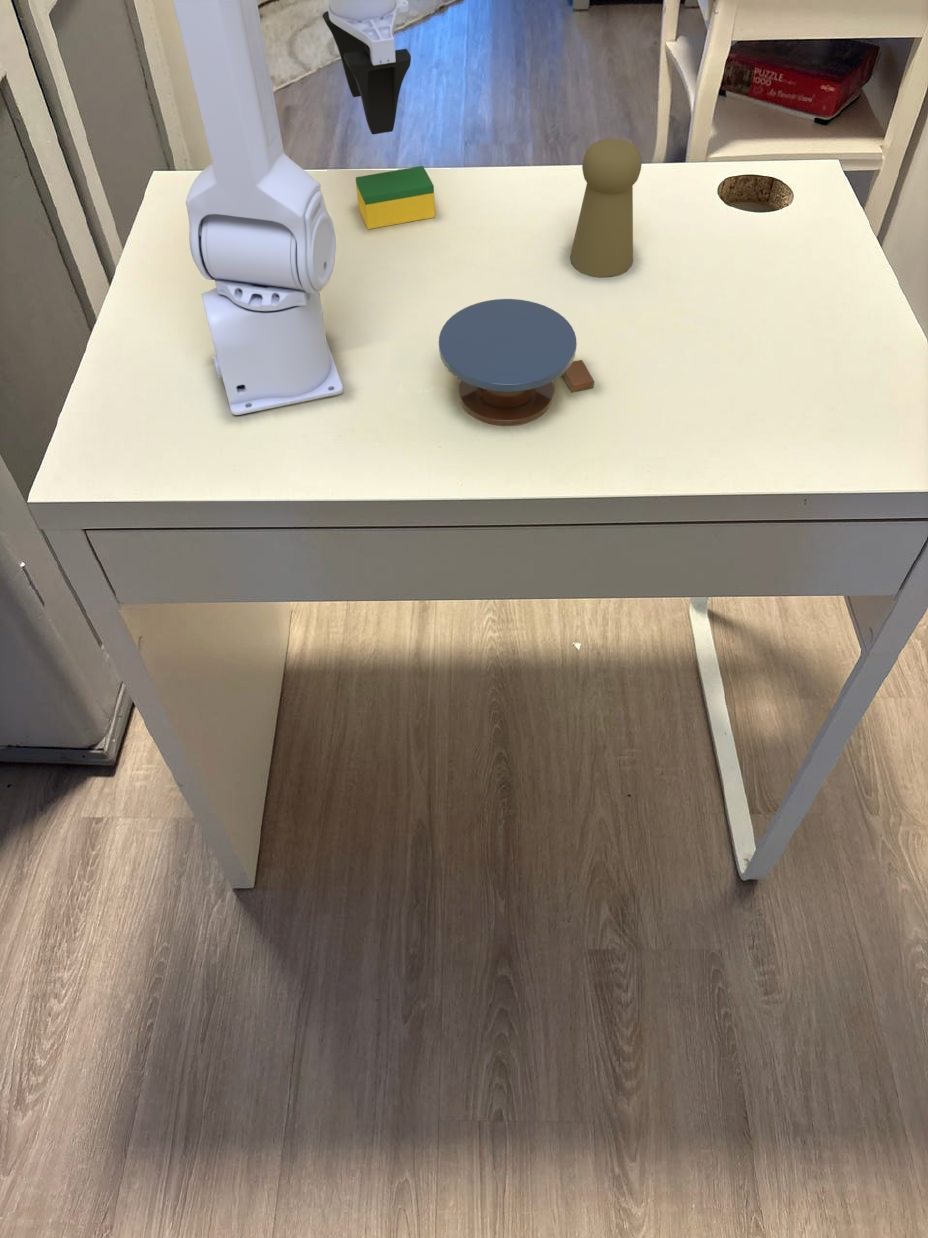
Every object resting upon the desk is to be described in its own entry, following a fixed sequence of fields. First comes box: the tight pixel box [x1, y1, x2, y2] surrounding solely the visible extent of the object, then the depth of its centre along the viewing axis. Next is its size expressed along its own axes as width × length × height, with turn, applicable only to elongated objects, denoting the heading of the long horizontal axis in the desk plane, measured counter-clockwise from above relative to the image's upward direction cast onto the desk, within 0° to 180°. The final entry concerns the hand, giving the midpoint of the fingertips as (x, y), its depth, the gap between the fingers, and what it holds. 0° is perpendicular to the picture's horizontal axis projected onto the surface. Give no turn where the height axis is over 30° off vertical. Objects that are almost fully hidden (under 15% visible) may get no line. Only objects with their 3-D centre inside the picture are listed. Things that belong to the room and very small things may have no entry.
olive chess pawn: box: [569, 137, 643, 278], centre depth 90 cm, size 6×6×11 cm
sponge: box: [355, 165, 436, 230], centre depth 99 cm, size 7×4×3 cm, turn 107°
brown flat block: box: [561, 359, 595, 393], centre depth 84 cm, size 2×3×1 cm, turn 16°
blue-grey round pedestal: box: [438, 298, 578, 427], centre depth 81 cm, size 11×11×6 cm
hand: (371, 112), depth 93 cm, fingers open, 7 cm apart
